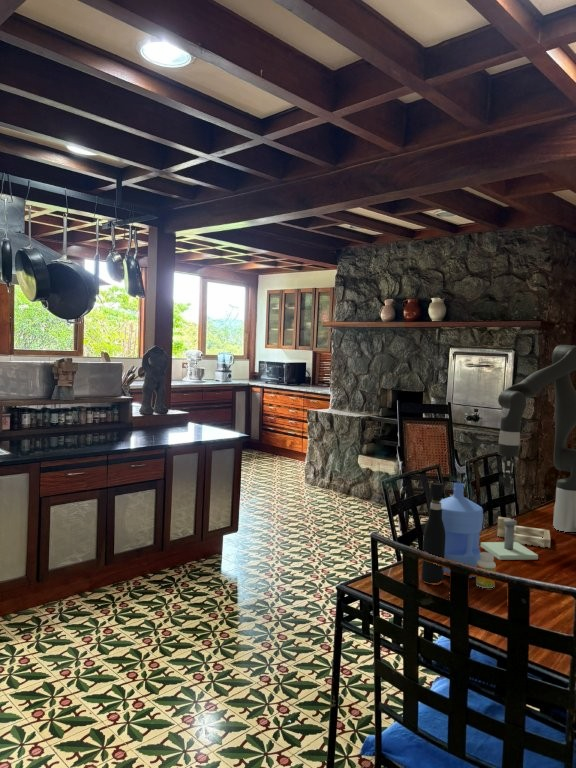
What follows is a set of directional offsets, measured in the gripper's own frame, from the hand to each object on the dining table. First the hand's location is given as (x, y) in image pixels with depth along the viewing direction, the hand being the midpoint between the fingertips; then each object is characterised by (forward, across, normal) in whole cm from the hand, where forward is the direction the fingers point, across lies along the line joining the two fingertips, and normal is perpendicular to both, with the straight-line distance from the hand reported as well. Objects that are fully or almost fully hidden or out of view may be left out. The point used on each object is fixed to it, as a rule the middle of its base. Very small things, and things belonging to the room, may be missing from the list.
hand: (506, 485), depth 224 cm
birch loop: (+20, +1, -7) cm, 22 cm away
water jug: (+21, -45, +16) cm, 52 cm away
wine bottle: (+21, -58, +22) cm, 65 cm away
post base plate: (+20, -19, -1) cm, 28 cm away
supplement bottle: (+21, -55, +6) cm, 59 cm away
